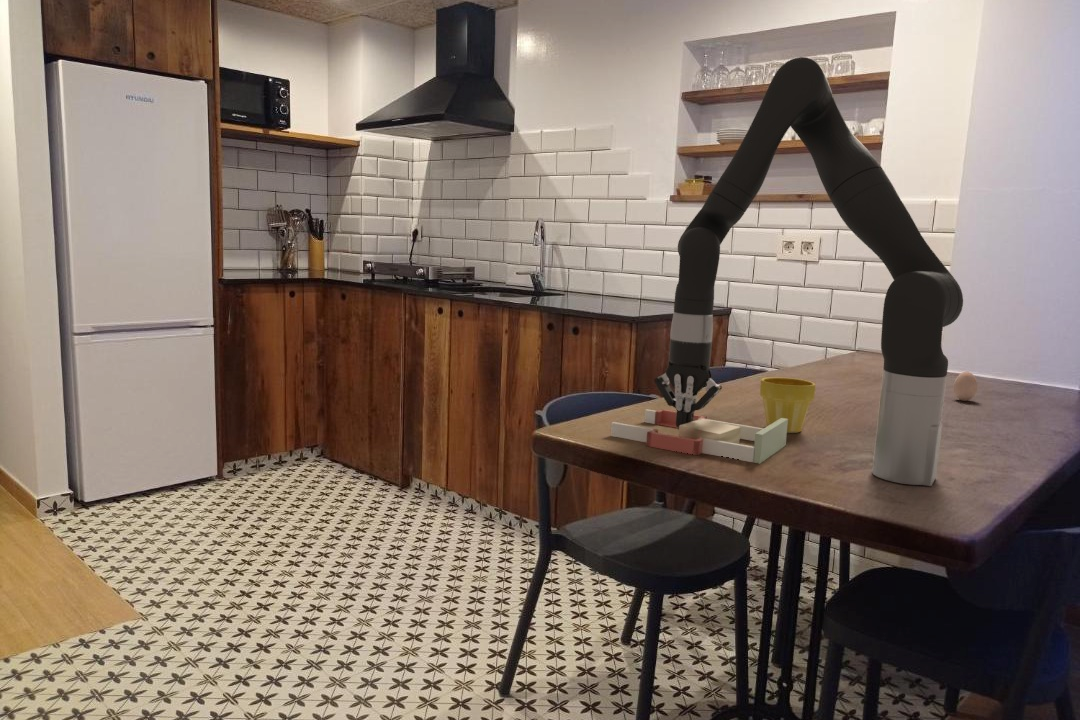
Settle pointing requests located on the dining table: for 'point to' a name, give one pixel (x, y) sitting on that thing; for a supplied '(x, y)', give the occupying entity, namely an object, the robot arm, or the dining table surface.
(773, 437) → the trap lane
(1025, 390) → the dining table surface
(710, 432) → the birch block
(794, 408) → the plant pot
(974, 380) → the egg
